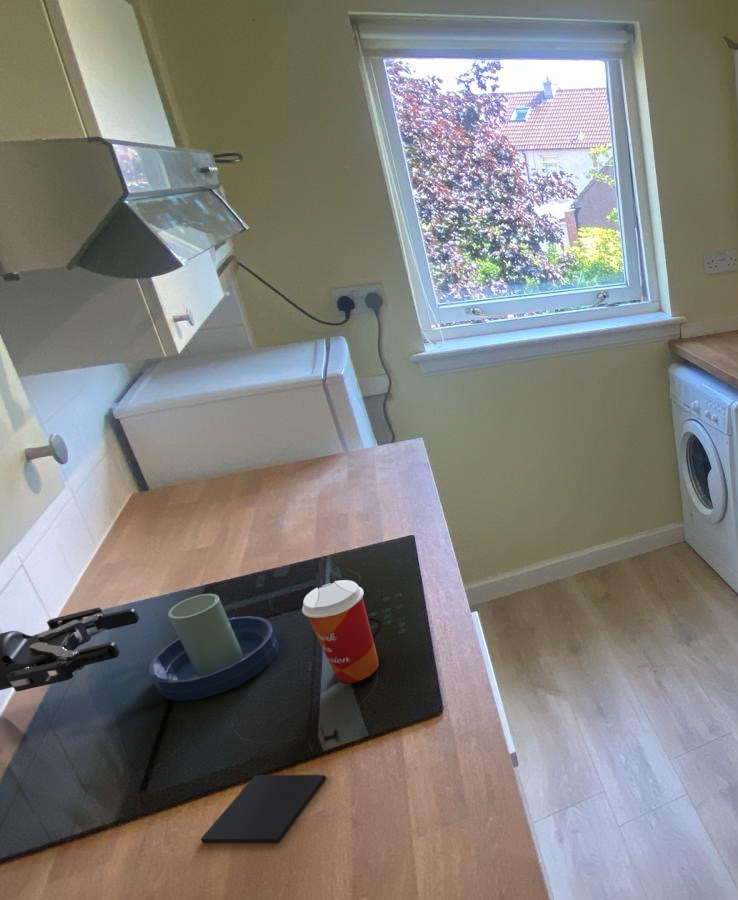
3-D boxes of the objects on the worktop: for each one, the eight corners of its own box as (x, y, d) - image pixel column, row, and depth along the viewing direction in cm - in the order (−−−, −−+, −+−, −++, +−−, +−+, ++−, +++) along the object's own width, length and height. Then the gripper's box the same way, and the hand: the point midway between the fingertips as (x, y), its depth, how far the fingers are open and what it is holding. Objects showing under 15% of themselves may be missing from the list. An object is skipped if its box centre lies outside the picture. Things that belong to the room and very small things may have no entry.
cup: (208, 683, 108) (180, 623, 103) (188, 670, 110) (159, 611, 106) (252, 659, 112) (227, 600, 108) (232, 647, 115) (206, 589, 110)
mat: (202, 842, 84) (200, 839, 84) (256, 778, 92) (255, 774, 92) (278, 842, 84) (276, 839, 83) (326, 778, 92) (325, 774, 92)
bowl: (189, 717, 102) (178, 695, 101) (140, 682, 109) (129, 661, 107) (300, 654, 114) (292, 633, 112) (249, 626, 121) (241, 606, 119)
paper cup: (323, 669, 110) (294, 592, 105) (379, 646, 115) (354, 571, 109) (335, 696, 105) (305, 617, 99) (393, 671, 110) (367, 594, 104)
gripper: (-68, 678, 91) (98, 639, 97) (-13, 615, 102) (132, 583, 109) (-38, 724, 94) (121, 683, 100) (12, 658, 105) (152, 624, 112)
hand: (127, 631), depth 104 cm, fingers open, 8 cm apart
